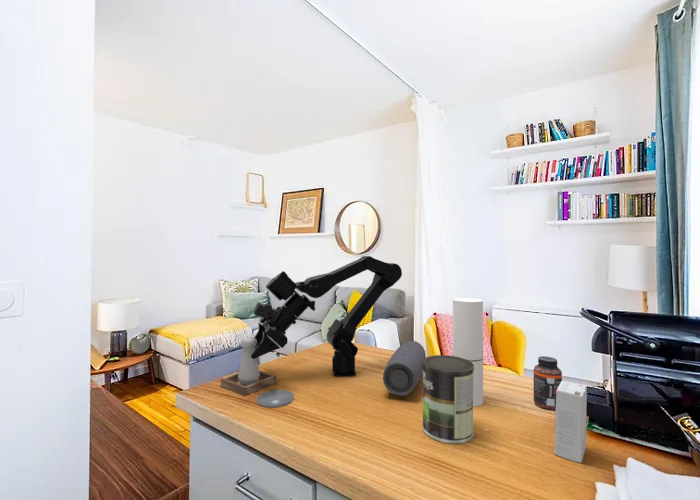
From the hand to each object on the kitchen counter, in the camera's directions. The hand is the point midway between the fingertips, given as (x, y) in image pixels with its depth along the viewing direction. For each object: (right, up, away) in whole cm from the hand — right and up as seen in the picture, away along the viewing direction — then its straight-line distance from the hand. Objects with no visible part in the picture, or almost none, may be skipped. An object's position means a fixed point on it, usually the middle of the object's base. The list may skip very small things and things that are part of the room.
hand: (250, 353), depth 95 cm
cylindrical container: (+57, -9, -10) cm, 59 cm away
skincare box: (+68, -9, -32) cm, 76 cm away
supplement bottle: (+75, -9, -13) cm, 77 cm away
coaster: (+9, -9, -10) cm, 16 cm away
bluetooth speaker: (+44, -9, 0) cm, 44 cm away
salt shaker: (0, -9, 0) cm, 9 cm away
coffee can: (+48, -9, -24) cm, 55 cm away
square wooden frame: (0, -9, 0) cm, 9 cm away
